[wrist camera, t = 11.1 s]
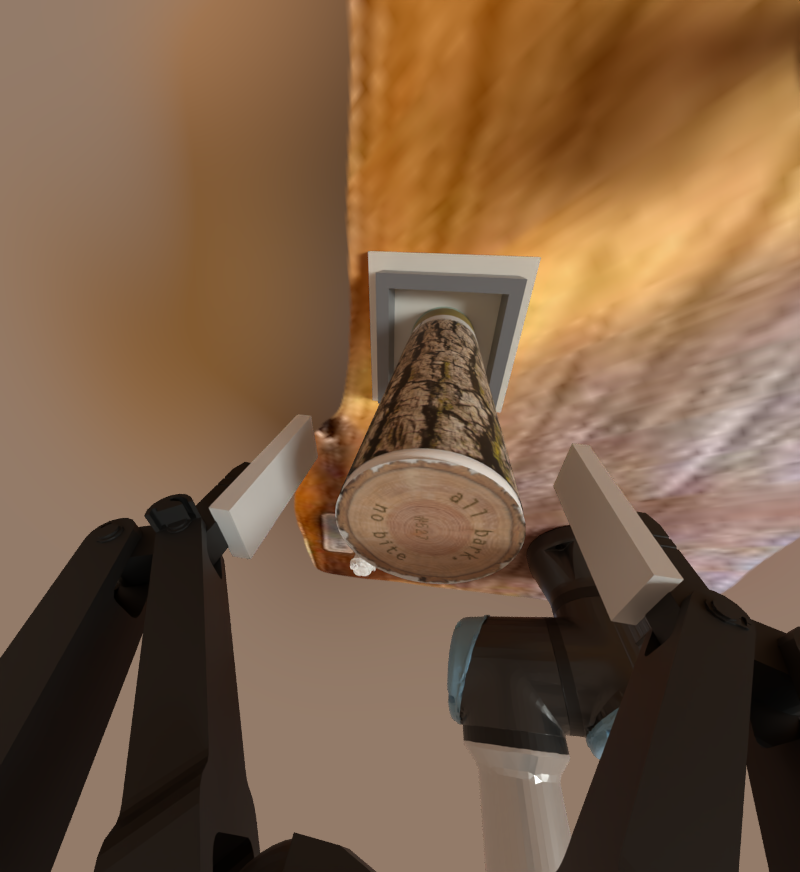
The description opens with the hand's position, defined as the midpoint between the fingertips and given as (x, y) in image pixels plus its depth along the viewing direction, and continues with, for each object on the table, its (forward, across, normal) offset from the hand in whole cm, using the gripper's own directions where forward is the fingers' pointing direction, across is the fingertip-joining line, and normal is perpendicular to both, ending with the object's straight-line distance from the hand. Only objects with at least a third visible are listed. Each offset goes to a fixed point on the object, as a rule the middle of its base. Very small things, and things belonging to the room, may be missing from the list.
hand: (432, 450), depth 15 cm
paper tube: (+20, 0, -1) cm, 20 cm away
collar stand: (+21, 0, 0) cm, 21 cm away
